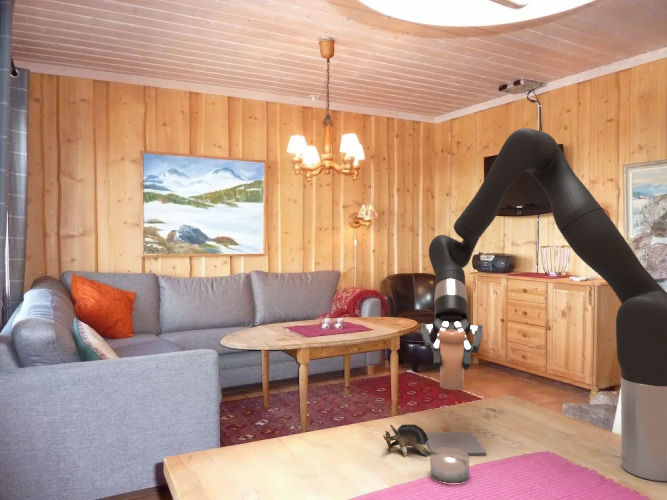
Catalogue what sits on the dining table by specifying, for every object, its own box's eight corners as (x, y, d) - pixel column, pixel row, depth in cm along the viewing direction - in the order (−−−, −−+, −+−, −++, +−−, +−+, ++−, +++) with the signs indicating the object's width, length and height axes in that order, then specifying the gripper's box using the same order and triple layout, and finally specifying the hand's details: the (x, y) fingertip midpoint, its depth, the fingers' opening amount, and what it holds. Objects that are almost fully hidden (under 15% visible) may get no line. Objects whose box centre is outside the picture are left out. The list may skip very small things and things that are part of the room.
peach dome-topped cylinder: (461, 382, 110) (461, 329, 110) (468, 390, 104) (468, 334, 104) (436, 382, 110) (436, 329, 110) (441, 390, 104) (441, 334, 104)
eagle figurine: (384, 456, 99) (430, 451, 97) (380, 420, 103) (424, 414, 101) (391, 463, 105) (433, 458, 104) (386, 428, 109) (427, 423, 108)
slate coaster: (471, 434, 112) (471, 432, 112) (486, 455, 101) (486, 452, 101) (422, 435, 112) (422, 432, 112) (432, 456, 101) (432, 453, 101)
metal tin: (463, 467, 96) (463, 447, 96) (473, 485, 89) (473, 463, 89) (427, 468, 96) (427, 447, 96) (434, 485, 89) (434, 463, 89)
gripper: (419, 292, 115) (417, 356, 104) (483, 293, 112) (488, 359, 101) (420, 312, 121) (418, 374, 109) (481, 313, 118) (486, 378, 106)
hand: (452, 366), depth 105 cm, fingers closed on peach dome-topped cylinder, 5 cm apart
